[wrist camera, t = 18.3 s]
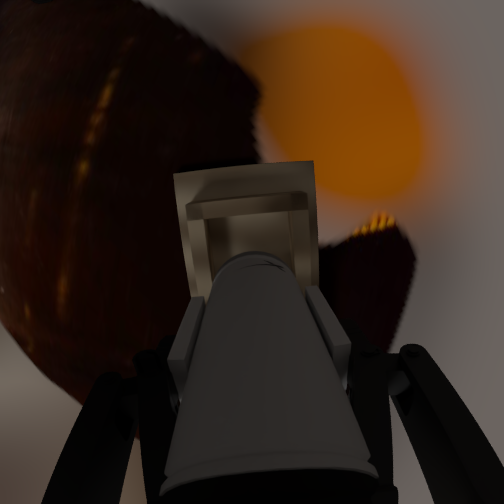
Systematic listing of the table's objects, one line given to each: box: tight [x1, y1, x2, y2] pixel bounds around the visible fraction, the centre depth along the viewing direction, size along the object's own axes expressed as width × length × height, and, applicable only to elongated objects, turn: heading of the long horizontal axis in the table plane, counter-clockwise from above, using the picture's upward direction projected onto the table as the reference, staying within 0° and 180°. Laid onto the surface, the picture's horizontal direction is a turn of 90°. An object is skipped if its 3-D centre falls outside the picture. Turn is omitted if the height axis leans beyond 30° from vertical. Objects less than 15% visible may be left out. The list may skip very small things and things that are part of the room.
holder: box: [173, 161, 319, 306], centre depth 30 cm, size 26×14×4 cm, turn 5°
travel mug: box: [159, 251, 379, 504], centre depth 12 cm, size 6×7×20 cm
